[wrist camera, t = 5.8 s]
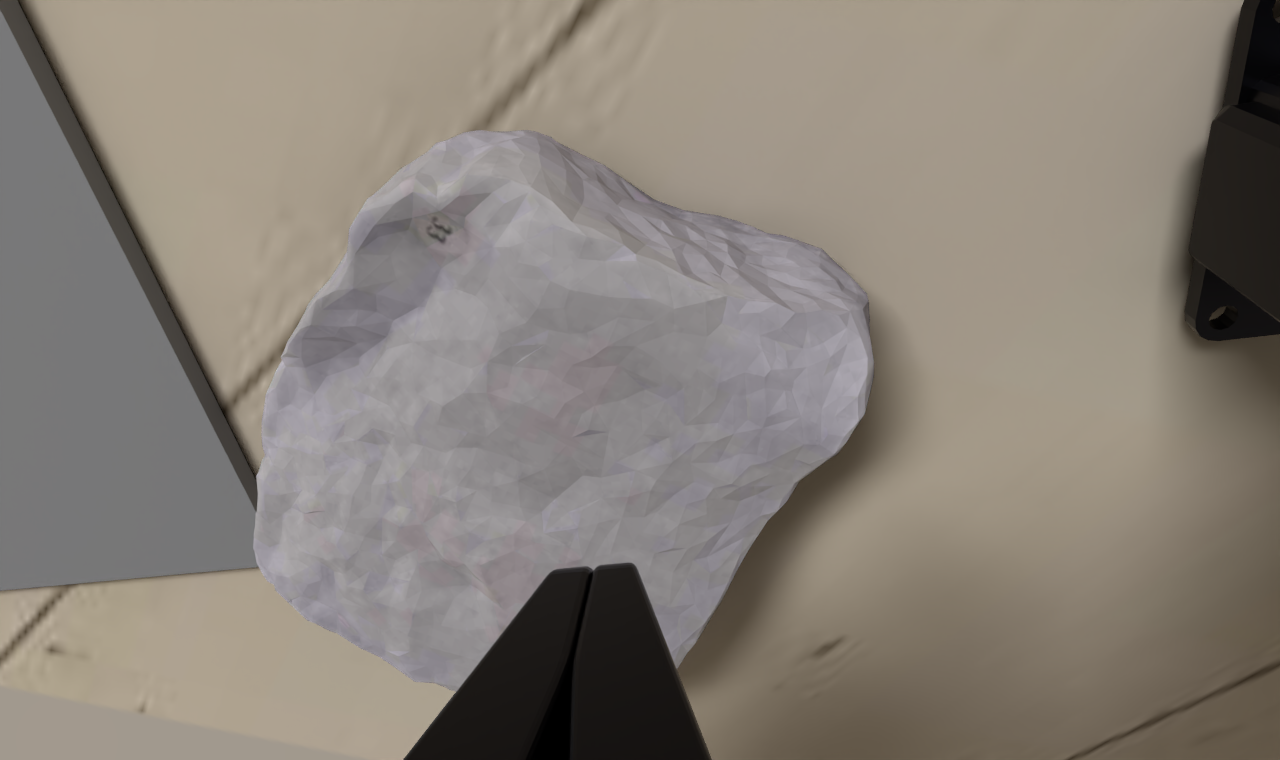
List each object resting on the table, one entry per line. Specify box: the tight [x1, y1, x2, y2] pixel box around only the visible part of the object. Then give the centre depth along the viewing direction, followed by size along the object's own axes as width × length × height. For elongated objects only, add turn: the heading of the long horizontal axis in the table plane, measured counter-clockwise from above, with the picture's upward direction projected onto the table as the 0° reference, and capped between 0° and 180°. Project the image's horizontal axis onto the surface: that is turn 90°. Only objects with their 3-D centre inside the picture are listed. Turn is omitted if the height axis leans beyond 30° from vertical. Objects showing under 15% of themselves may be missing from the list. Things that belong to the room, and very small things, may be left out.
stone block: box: [253, 130, 874, 691], centre depth 17 cm, size 12×5×10 cm
